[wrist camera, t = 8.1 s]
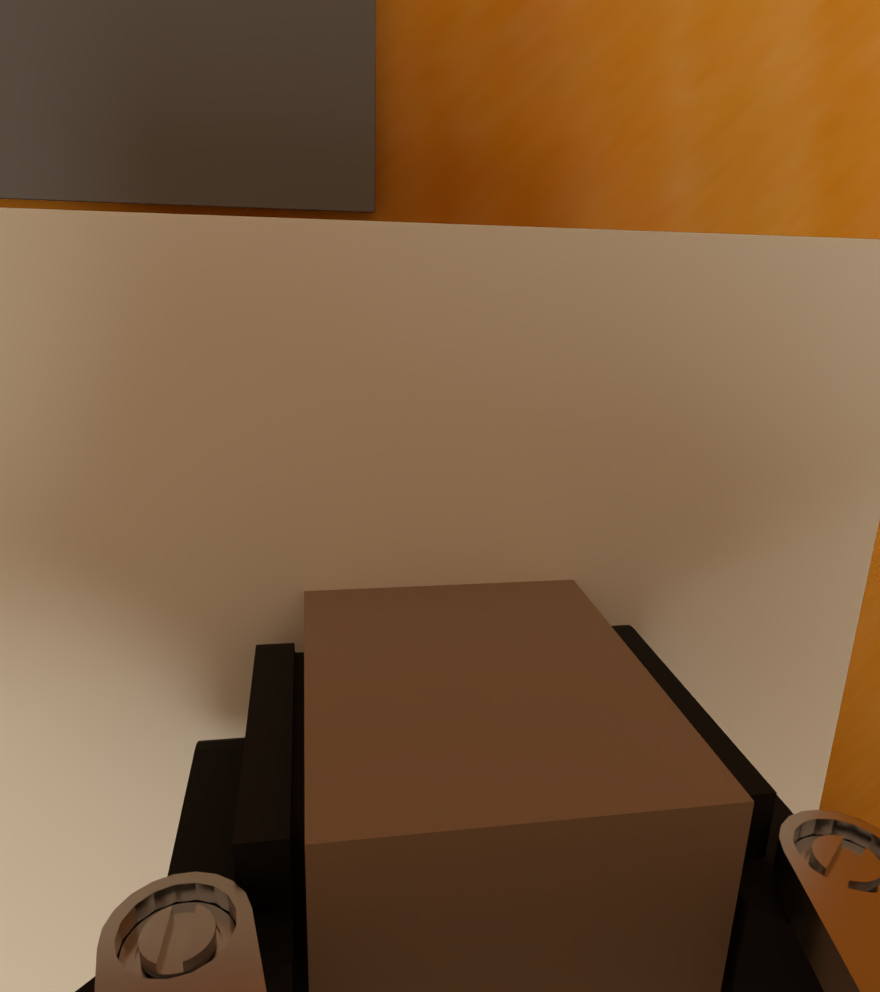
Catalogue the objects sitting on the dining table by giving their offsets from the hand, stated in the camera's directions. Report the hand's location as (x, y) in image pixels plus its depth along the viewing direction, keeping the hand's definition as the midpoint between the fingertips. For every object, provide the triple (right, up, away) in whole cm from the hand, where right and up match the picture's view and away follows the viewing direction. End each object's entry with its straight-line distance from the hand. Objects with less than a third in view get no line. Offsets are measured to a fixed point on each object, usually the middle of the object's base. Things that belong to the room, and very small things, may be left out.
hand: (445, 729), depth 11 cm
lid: (0, 0, +2) cm, 2 cm away
